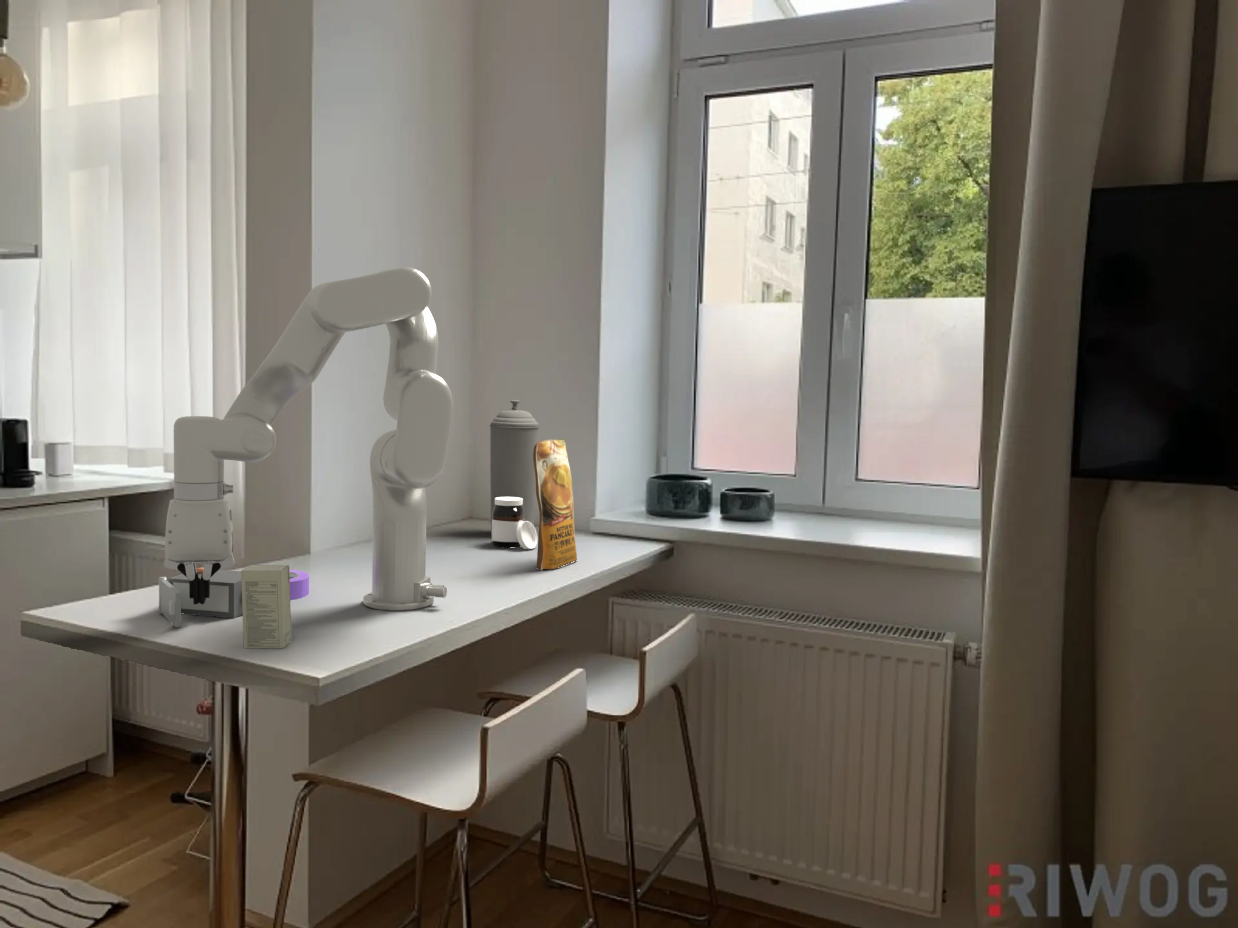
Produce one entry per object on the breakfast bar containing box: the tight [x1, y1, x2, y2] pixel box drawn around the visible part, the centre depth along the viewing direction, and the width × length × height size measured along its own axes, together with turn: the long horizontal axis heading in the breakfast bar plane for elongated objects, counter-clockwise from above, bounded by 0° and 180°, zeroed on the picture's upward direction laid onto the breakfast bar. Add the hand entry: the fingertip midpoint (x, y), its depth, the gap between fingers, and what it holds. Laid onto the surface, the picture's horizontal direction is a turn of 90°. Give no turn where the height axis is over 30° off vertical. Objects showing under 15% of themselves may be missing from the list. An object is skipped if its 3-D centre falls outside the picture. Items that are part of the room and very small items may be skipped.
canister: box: [489, 399, 540, 534], centre depth 257 cm, size 13×13×35 cm
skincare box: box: [240, 564, 292, 649], centre depth 152 cm, size 6×4×12 cm
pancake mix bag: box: [533, 438, 578, 571], centre depth 221 cm, size 7×19×28 cm, turn 156°
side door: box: [158, 576, 182, 628], centre depth 164 cm, size 12×2×6 cm, turn 36°
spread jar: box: [491, 497, 538, 550], centre depth 241 cm, size 12×11×12 cm
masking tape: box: [289, 569, 310, 601], centre depth 185 cm, size 12×12×4 cm
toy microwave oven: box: [168, 566, 243, 619], centre depth 172 cm, size 13×9×7 cm
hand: (199, 602), depth 164 cm, fingers closed
